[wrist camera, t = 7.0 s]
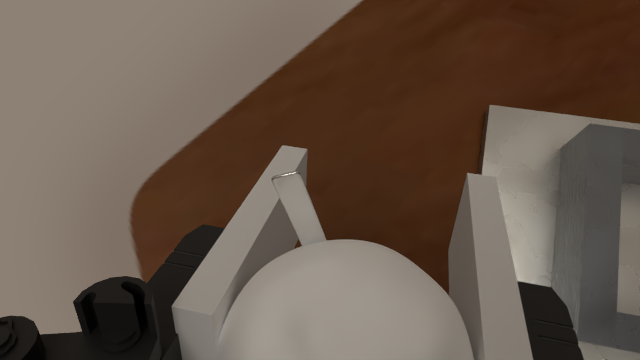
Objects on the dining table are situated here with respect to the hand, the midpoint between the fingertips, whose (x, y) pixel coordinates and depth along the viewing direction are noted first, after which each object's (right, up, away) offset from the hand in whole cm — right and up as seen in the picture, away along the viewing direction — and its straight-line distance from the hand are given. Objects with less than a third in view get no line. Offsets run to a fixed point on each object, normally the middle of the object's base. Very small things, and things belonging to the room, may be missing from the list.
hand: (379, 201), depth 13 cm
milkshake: (0, -4, +2) cm, 5 cm away
